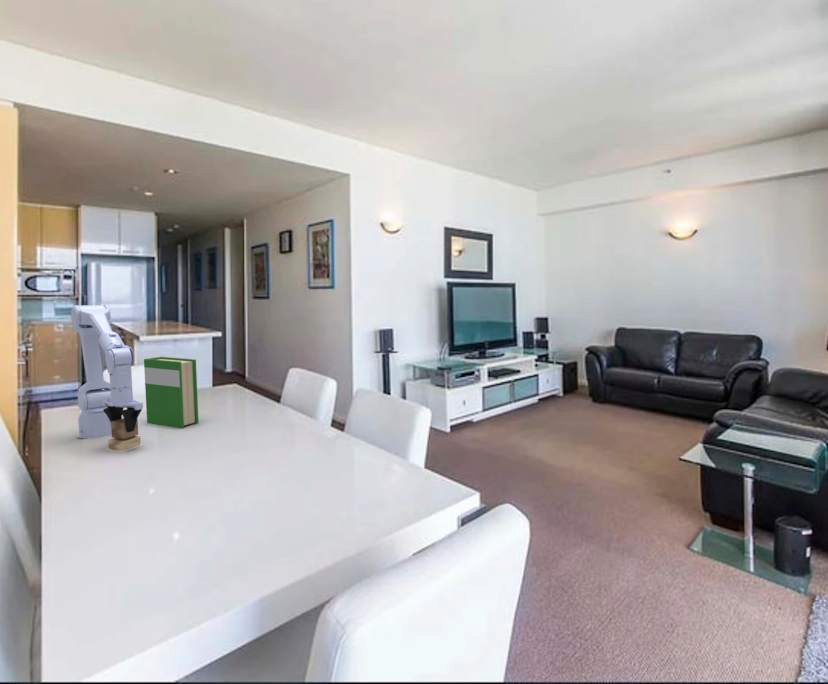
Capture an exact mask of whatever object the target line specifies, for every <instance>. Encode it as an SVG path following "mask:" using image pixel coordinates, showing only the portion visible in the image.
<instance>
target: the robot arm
mask: <svg viewBox="0 0 828 684" xmlns="http://www.w3.org/2000/svg"><path fill="white" fill-rule="evenodd" d="M70 320H71V326H72V329H73V332H76V333H78V334H79V337H80V342H81V349H82V357H83V364H84V366H83V367H84V371H85V373H84V374H85V379H86V382H85V383H84V384H83V385H81V386H80V387H79V388H78V390H77V404H78V405H77V406H78V407H79V410H80V411H81V412H80V413H79V416H78V433H79V435H77V436H76V438H79V439H88V438H93V439H94V438H101V437H106V436H110V435H112V432H111V421H115V420H119V419H122V418H124V420H125V426H126V431H127V432H132V431H134V429H135V425H136V421H137V419H138V418H139V416H140V414H141V413H142V410H143V409H144V404H143V403H144V402H141V401H138V400H135V399H134V398H133V397H134V396H133V378H132V366H133V365H134V363H135V353H134V351H133V348H132V347H131V346H128V345H126V344H125V343H124V342H123V340H122V338H121V337H120V335H119V333H118V332H115V331H113V330H112V327H111V324H110V320H111V309H110V307H109V306H108V305H106V304H102V305H101V304H97V305H93V304H91V305H90V304H89V305H88V304H87V305H84V304H83V305H78V304H75V305H73V306H72V307H71V310H70ZM100 347H101V349H102V351H103V353H104V355H105V356H104V361H105V365H106V370H107V373H108V374H109V382H108V381H106V380H104V373H103V365H102V359H101V352H100Z"/></svg>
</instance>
